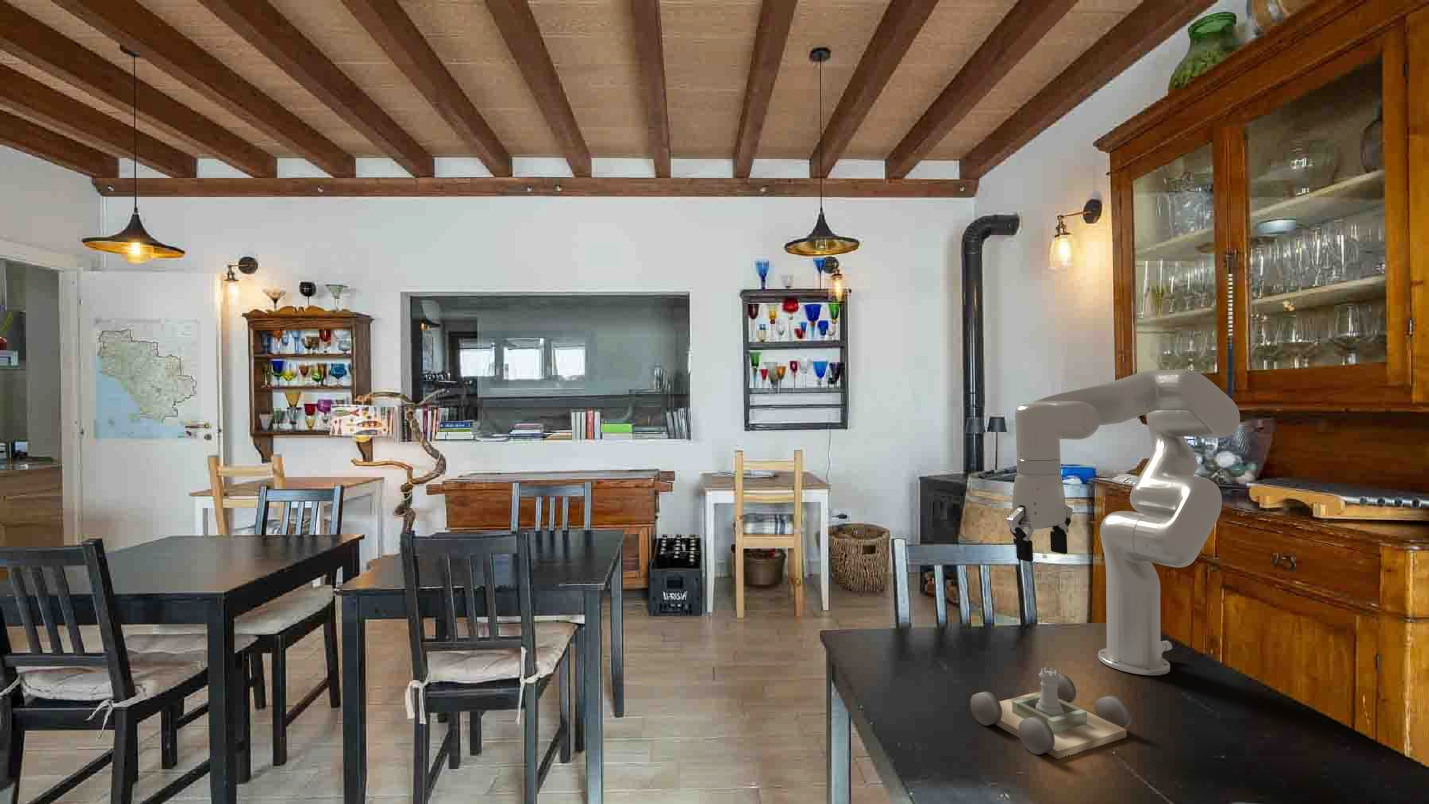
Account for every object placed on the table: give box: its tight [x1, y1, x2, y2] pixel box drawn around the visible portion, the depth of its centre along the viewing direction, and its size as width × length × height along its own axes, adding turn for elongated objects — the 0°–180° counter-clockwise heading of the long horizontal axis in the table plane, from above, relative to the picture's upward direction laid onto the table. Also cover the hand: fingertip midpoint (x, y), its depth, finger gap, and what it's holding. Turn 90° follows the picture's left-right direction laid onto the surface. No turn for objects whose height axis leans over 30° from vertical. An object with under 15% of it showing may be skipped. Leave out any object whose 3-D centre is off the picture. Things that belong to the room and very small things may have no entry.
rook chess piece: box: [1035, 666, 1064, 717], centre depth 111 cm, size 4×4×8 cm
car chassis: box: [969, 673, 1132, 760], centre depth 111 cm, size 20×16×5 cm
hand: (1042, 556), depth 126 cm, fingers open, 9 cm apart
